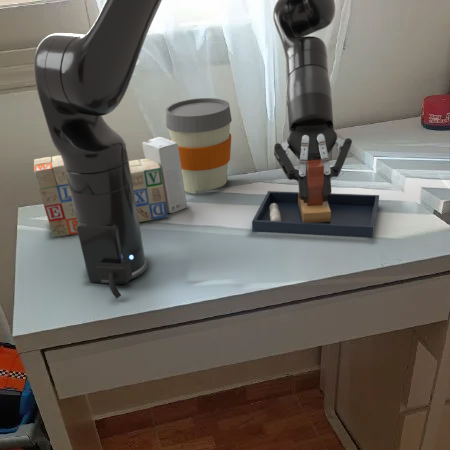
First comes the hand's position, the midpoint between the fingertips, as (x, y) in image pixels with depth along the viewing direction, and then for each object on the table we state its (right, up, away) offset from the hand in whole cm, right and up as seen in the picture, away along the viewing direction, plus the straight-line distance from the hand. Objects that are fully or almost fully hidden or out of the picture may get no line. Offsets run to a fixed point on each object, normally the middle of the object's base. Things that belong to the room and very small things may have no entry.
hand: (315, 200), depth 103 cm
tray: (+1, -2, +4) cm, 5 cm away
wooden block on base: (0, -2, +4) cm, 4 cm away
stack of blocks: (-37, -1, +11) cm, 39 cm away
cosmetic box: (-26, +3, +14) cm, 30 cm away
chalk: (-7, -2, +5) cm, 8 cm away
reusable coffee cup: (-20, +10, +21) cm, 30 cm away
